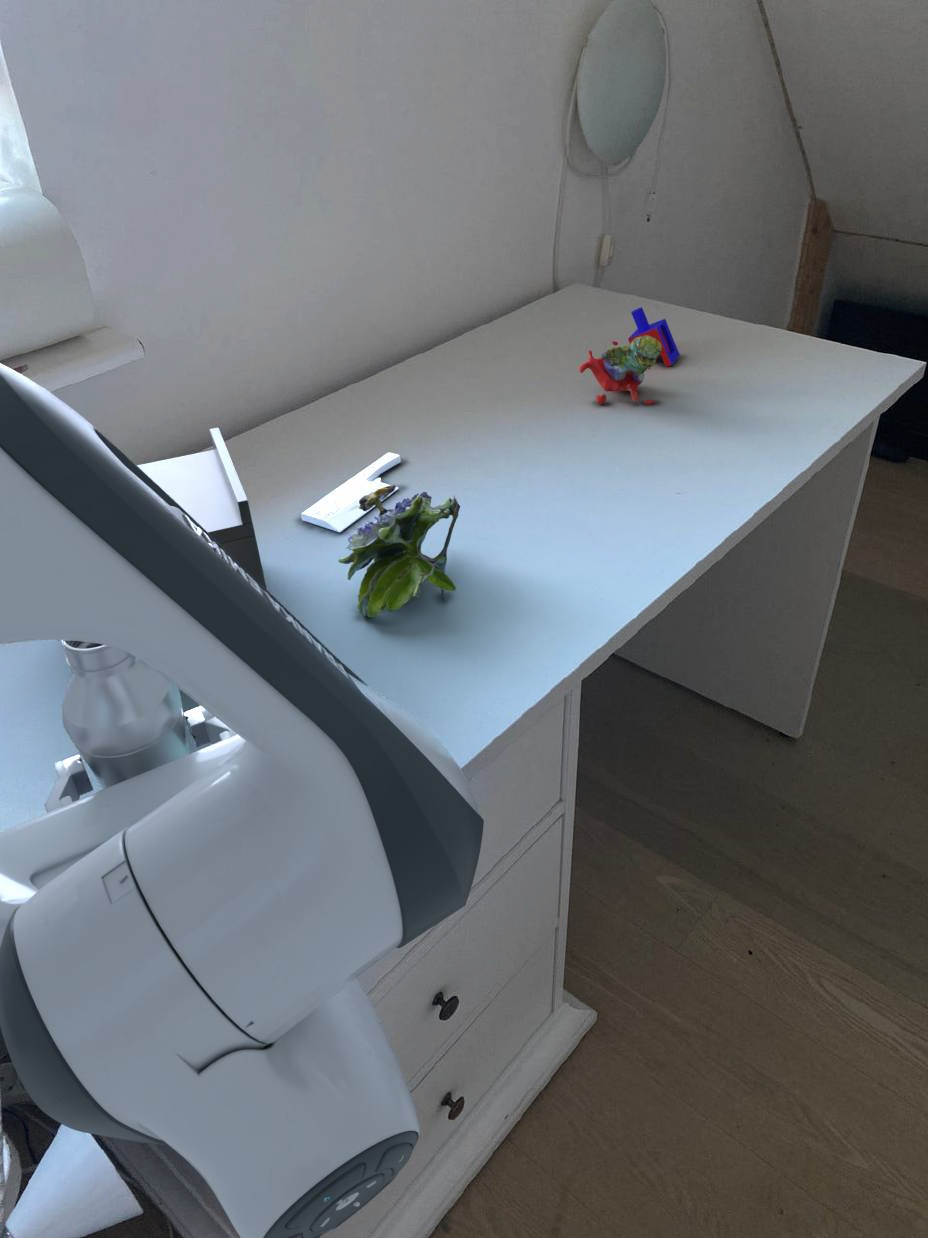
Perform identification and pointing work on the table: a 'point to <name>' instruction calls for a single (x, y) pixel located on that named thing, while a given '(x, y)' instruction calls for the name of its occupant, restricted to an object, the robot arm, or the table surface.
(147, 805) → the robot arm
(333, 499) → the white plastic strip tool
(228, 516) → the block with raised lip
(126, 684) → the plastic bottle
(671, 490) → the table surface
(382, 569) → the passion flower
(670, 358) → the blue and red dreidel
